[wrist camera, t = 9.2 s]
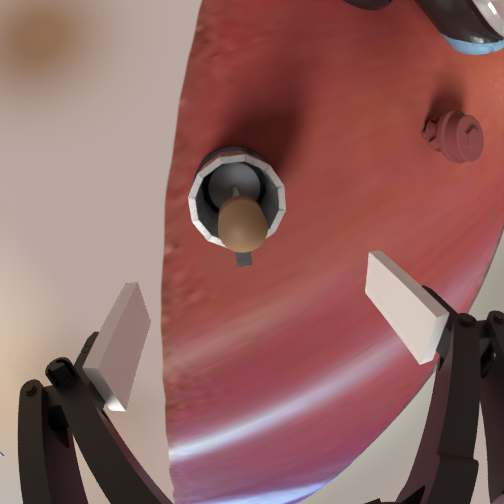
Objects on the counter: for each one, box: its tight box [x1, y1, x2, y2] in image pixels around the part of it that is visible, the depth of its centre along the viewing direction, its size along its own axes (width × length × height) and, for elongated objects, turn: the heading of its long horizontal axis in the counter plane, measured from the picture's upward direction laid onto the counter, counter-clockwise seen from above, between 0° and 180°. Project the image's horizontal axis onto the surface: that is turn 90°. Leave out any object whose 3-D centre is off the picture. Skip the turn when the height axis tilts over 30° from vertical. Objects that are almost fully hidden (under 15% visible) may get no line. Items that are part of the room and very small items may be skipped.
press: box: [188, 146, 286, 267], centre depth 40 cm, size 16×13×12 cm
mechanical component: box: [422, 110, 483, 163], centre depth 38 cm, size 12×10×10 cm
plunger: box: [209, 162, 268, 253], centre depth 34 cm, size 8×8×21 cm
